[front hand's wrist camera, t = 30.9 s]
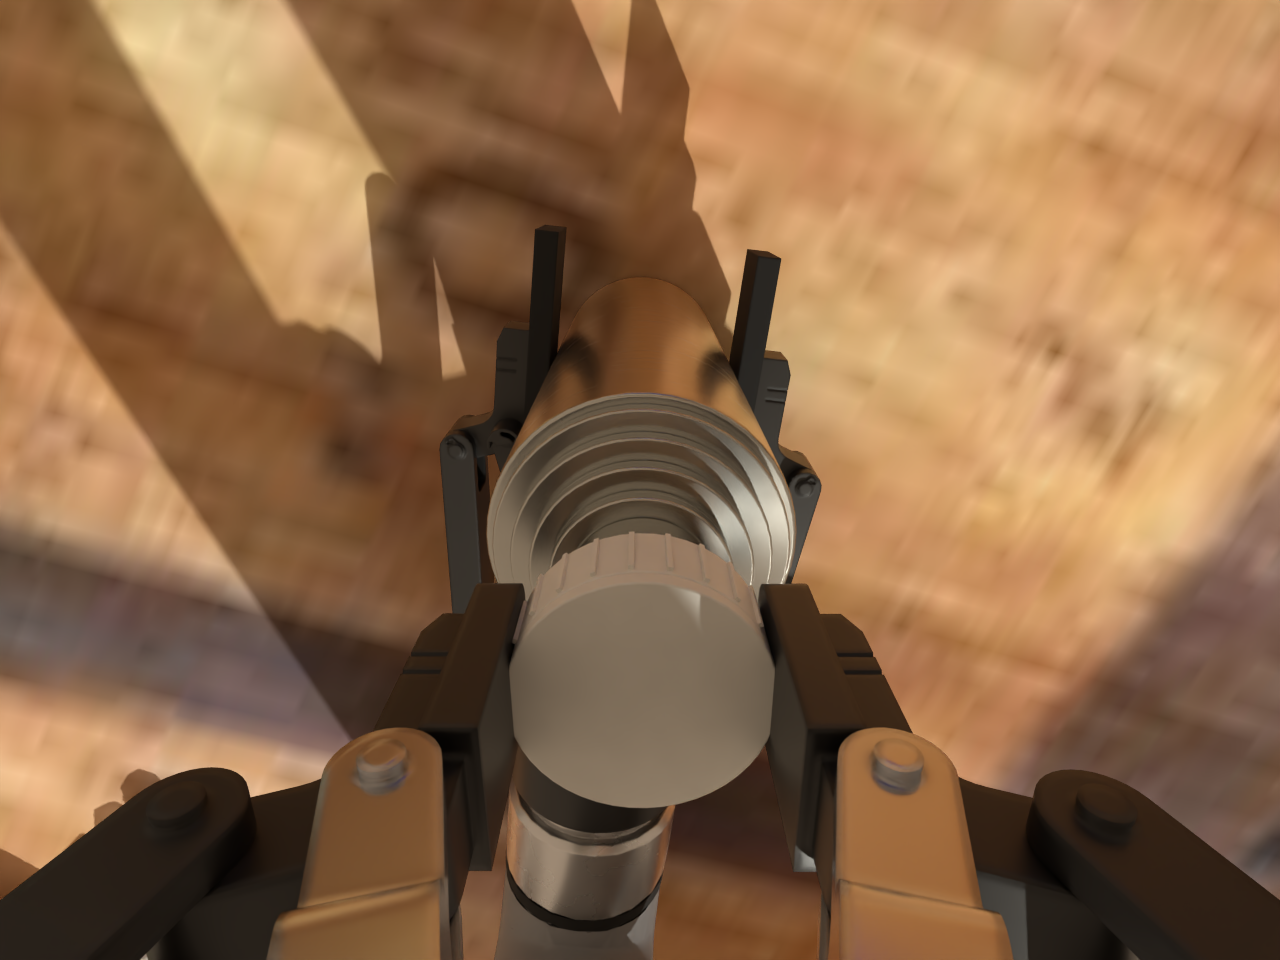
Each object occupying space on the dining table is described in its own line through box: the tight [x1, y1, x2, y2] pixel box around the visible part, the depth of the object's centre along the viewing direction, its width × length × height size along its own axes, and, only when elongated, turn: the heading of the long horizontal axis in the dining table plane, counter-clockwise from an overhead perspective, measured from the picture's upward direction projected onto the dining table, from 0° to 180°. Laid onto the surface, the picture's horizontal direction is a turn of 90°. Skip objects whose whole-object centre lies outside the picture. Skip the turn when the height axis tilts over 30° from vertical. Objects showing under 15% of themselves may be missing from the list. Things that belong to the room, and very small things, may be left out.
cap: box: [509, 531, 775, 808], centre depth 12 cm, size 4×4×2 cm
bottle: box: [486, 277, 796, 603], centre depth 22 cm, size 6×6×23 cm
